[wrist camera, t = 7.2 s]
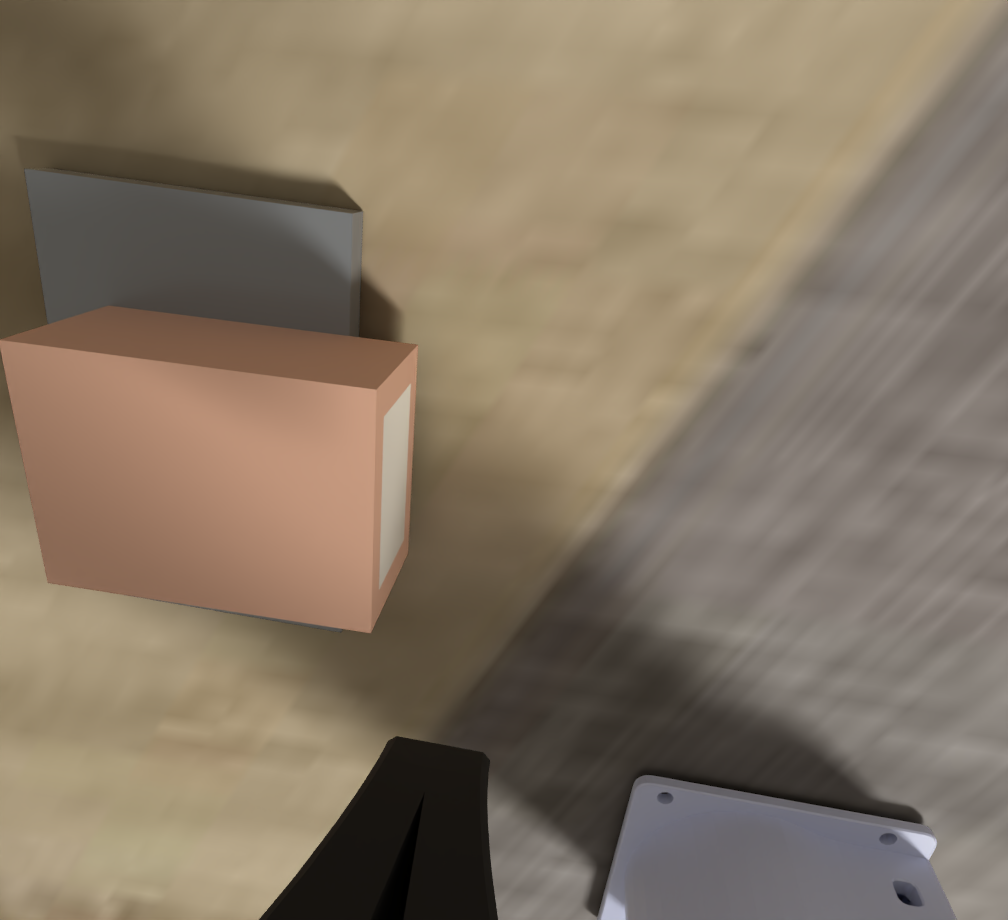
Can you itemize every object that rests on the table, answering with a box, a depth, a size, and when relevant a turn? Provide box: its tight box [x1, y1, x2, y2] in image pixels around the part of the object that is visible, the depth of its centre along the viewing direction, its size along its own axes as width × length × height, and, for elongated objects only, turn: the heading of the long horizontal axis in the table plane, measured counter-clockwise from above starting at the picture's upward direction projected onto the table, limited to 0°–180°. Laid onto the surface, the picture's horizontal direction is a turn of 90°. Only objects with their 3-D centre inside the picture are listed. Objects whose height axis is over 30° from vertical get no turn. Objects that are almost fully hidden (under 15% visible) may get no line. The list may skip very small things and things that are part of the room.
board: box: [24, 168, 363, 632], centre depth 19 cm, size 8×12×1 cm, turn 174°
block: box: [0, 306, 418, 633], centre depth 17 cm, size 4×6×8 cm
